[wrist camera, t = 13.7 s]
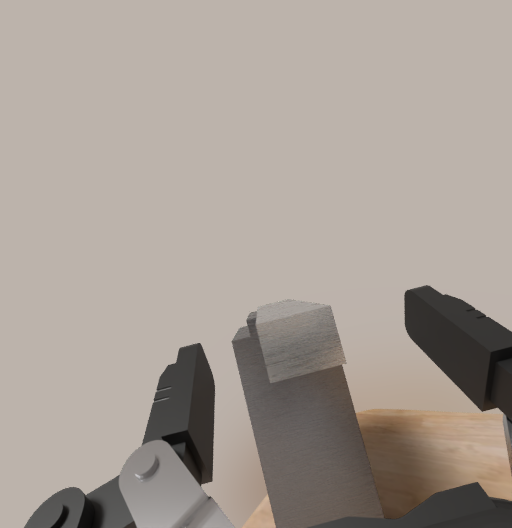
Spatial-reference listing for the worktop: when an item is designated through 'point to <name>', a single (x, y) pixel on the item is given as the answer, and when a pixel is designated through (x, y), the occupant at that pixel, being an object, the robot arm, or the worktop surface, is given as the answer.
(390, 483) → the worktop surface
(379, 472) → the worktop surface
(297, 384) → the gray grooved tower
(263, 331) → the brushed metal block
